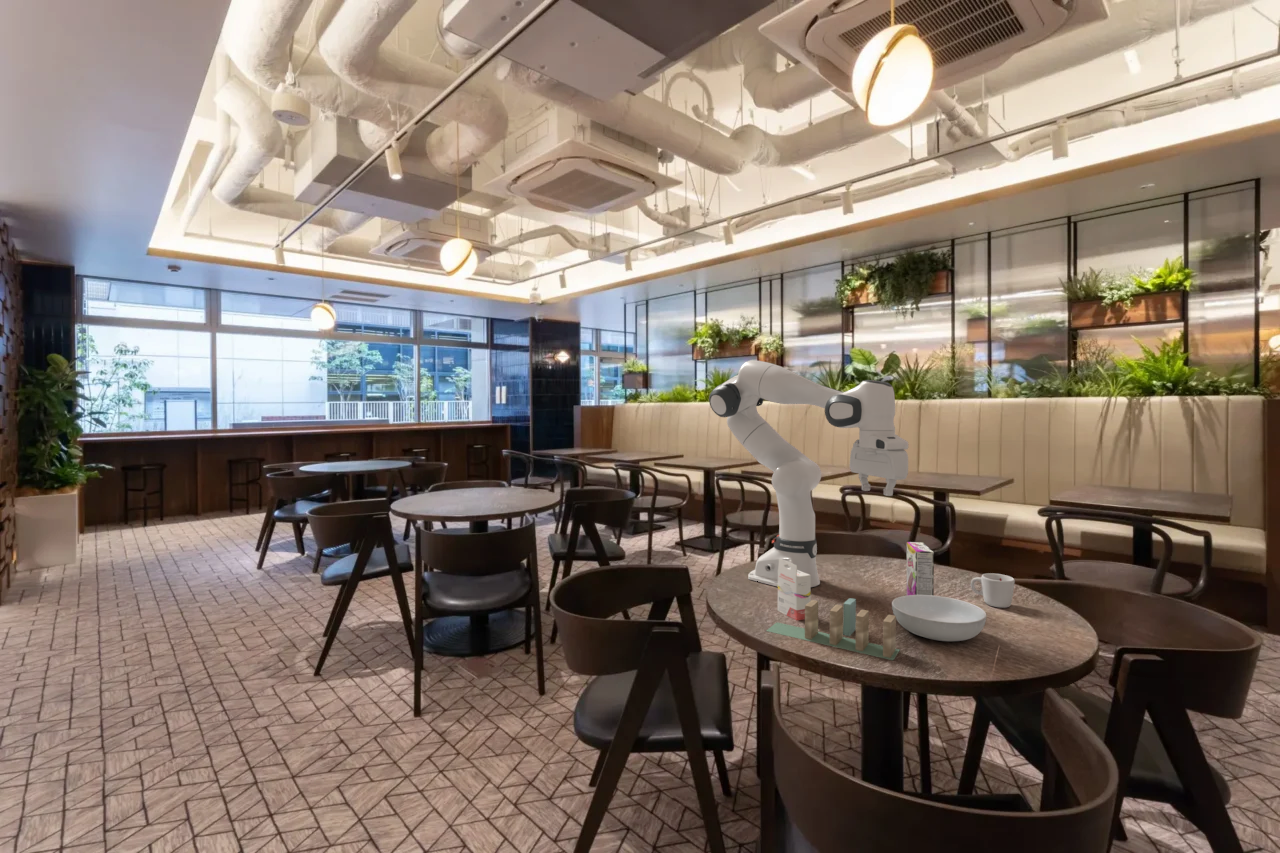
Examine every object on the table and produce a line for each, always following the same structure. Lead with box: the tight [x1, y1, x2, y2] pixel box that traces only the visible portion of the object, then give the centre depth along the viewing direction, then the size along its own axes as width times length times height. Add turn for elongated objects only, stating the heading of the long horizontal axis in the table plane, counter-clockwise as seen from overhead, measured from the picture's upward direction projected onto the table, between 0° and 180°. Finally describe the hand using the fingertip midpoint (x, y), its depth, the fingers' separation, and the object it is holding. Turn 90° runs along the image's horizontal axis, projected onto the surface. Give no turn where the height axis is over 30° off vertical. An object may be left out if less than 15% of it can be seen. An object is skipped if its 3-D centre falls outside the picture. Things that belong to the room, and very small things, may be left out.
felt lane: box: [765, 622, 901, 661], centre depth 143 cm, size 30×7×1 cm, turn 55°
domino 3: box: [843, 597, 857, 637], centre depth 148 cm, size 2×5×8 cm, turn 145°
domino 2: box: [829, 604, 844, 645], centre depth 142 cm, size 2×5×8 cm, turn 145°
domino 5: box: [882, 614, 897, 658], centre depth 135 cm, size 2×5×8 cm, turn 145°
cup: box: [970, 572, 1016, 609], centre depth 168 cm, size 11×8×8 cm
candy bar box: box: [905, 541, 935, 596], centre depth 169 cm, size 11×5×16 cm, turn 168°
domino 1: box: [804, 599, 819, 639], centre depth 146 cm, size 2×5×8 cm, turn 145°
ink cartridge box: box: [777, 559, 812, 621], centre depth 160 cm, size 9×5×15 cm, turn 23°
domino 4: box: [855, 609, 870, 651], centre depth 139 cm, size 2×5×8 cm, turn 145°
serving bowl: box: [891, 595, 987, 642], centre depth 147 cm, size 21×21×7 cm
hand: (876, 493), depth 158 cm, fingers open, 8 cm apart
